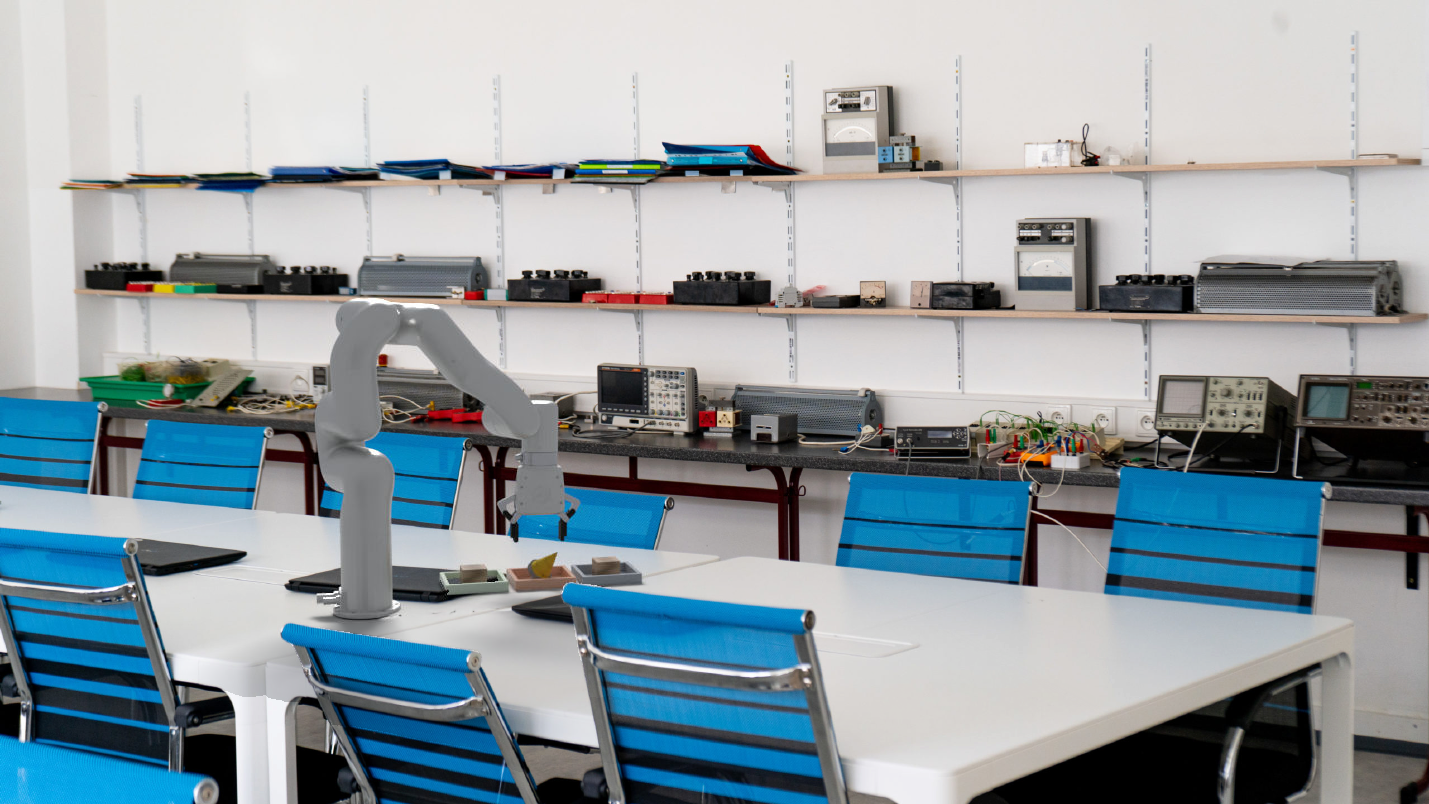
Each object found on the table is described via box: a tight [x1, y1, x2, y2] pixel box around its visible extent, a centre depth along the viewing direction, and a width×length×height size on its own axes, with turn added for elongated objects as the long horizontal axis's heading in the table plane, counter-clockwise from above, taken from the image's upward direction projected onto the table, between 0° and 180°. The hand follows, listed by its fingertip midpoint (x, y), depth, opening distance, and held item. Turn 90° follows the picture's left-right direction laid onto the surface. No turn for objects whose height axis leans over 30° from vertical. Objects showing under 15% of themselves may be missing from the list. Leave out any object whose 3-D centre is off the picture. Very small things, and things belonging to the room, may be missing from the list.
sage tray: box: [439, 568, 510, 596], centre depth 273 cm, size 13×13×2 cm
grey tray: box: [570, 561, 643, 586], centre depth 282 cm, size 13×13×2 cm
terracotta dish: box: [505, 564, 577, 592], centre depth 278 cm, size 13×13×2 cm
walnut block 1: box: [459, 563, 488, 584], centre depth 273 cm, size 5×5×4 cm
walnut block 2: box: [591, 556, 621, 576], centre depth 282 cm, size 5×5×4 cm
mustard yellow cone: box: [527, 551, 558, 579], centre depth 277 cm, size 5×5×10 cm
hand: (538, 540), depth 277 cm, fingers open, 9 cm apart
